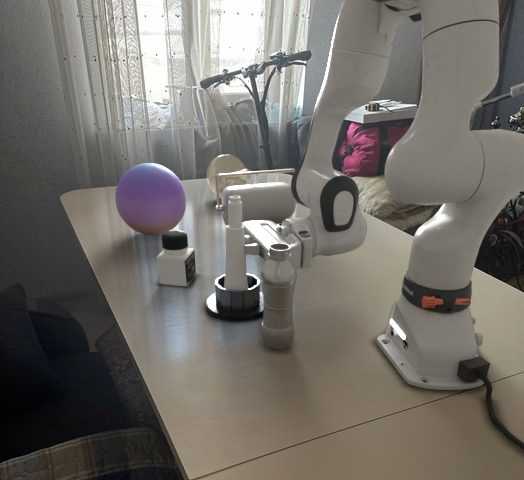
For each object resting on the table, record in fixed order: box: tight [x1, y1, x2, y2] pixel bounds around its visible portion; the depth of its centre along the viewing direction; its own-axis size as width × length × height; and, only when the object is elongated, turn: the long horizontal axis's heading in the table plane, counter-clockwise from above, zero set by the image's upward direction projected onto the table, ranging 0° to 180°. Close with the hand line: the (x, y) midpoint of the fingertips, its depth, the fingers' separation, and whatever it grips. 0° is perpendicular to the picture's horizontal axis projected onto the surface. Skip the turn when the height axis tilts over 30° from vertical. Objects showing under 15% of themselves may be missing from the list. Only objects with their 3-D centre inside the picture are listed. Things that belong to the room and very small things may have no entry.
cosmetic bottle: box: [224, 196, 249, 290], centre depth 106 cm, size 6×6×22 cm
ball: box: [114, 162, 187, 237], centre depth 147 cm, size 20×20×20 cm
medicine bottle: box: [156, 229, 197, 288], centre depth 122 cm, size 7×7×12 cm
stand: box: [205, 272, 264, 323], centre depth 112 cm, size 14×14×6 cm
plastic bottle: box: [259, 243, 298, 350], centre depth 95 cm, size 6×7×20 cm
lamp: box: [206, 154, 300, 227], centre depth 167 cm, size 27×23×40 cm
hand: (232, 247), depth 106 cm, fingers closed on cosmetic bottle
